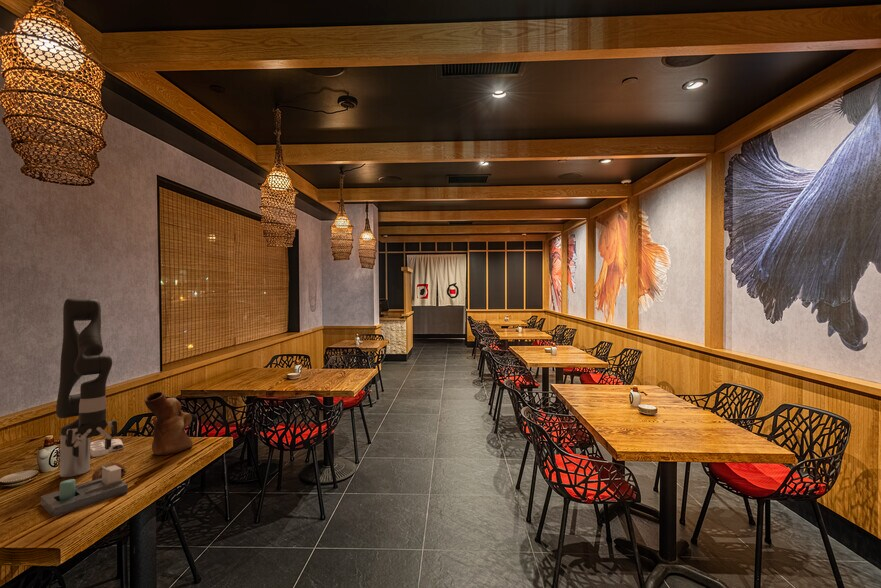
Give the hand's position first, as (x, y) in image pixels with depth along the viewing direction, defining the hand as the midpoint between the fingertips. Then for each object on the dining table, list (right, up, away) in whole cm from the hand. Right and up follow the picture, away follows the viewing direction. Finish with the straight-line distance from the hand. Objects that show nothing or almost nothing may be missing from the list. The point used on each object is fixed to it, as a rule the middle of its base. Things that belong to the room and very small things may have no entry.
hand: (92, 452), depth 141 cm
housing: (-1, -16, -2) cm, 16 cm away
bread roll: (-7, -17, +15) cm, 24 cm away
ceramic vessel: (-2, -18, +42) cm, 45 cm away
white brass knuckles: (-37, -19, +46) cm, 62 cm away
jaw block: (+3, -13, +4) cm, 14 cm away
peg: (-3, -16, -6) cm, 17 cm away
